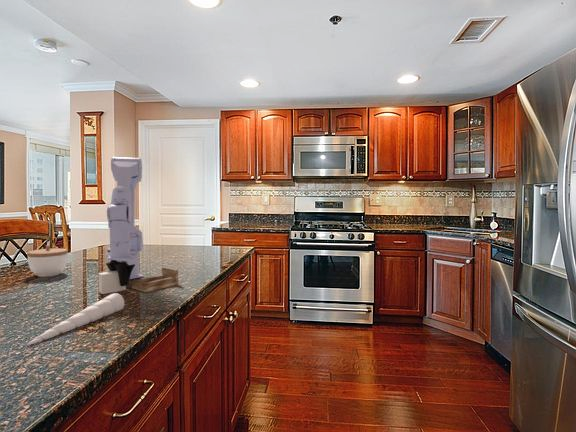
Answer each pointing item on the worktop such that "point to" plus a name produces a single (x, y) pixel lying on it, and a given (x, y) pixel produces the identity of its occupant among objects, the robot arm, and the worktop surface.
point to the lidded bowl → (47, 261)
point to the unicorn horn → (85, 316)
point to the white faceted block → (109, 282)
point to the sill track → (157, 281)
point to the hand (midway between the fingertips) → (120, 284)
